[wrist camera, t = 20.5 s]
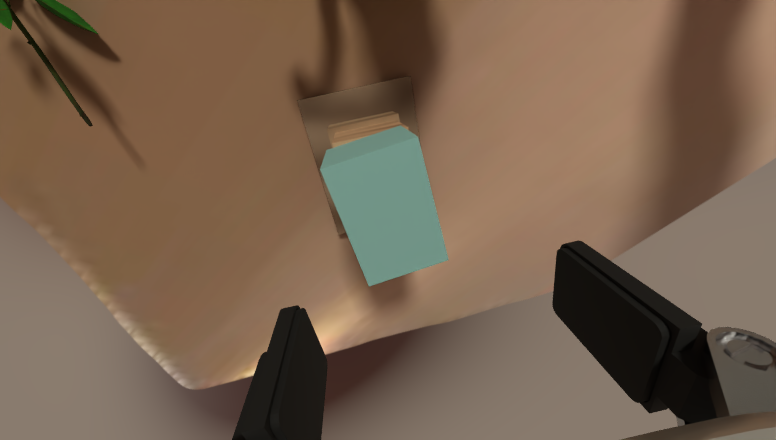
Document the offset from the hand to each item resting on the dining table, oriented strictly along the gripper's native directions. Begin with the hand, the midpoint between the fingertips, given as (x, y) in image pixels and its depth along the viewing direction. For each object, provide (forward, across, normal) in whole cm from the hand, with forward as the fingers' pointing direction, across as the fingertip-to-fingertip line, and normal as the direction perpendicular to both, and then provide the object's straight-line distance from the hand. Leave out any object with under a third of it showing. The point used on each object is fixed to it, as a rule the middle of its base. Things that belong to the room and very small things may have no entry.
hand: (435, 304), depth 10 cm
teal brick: (+15, +1, +1) cm, 15 cm away
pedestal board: (+26, +1, +1) cm, 26 cm away
